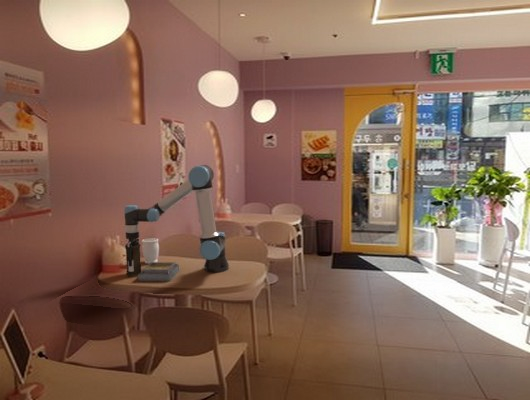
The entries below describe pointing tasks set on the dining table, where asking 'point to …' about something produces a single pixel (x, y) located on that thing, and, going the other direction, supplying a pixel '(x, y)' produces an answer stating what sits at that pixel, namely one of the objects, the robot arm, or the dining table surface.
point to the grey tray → (159, 271)
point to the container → (135, 261)
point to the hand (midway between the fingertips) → (134, 269)
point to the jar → (150, 250)
